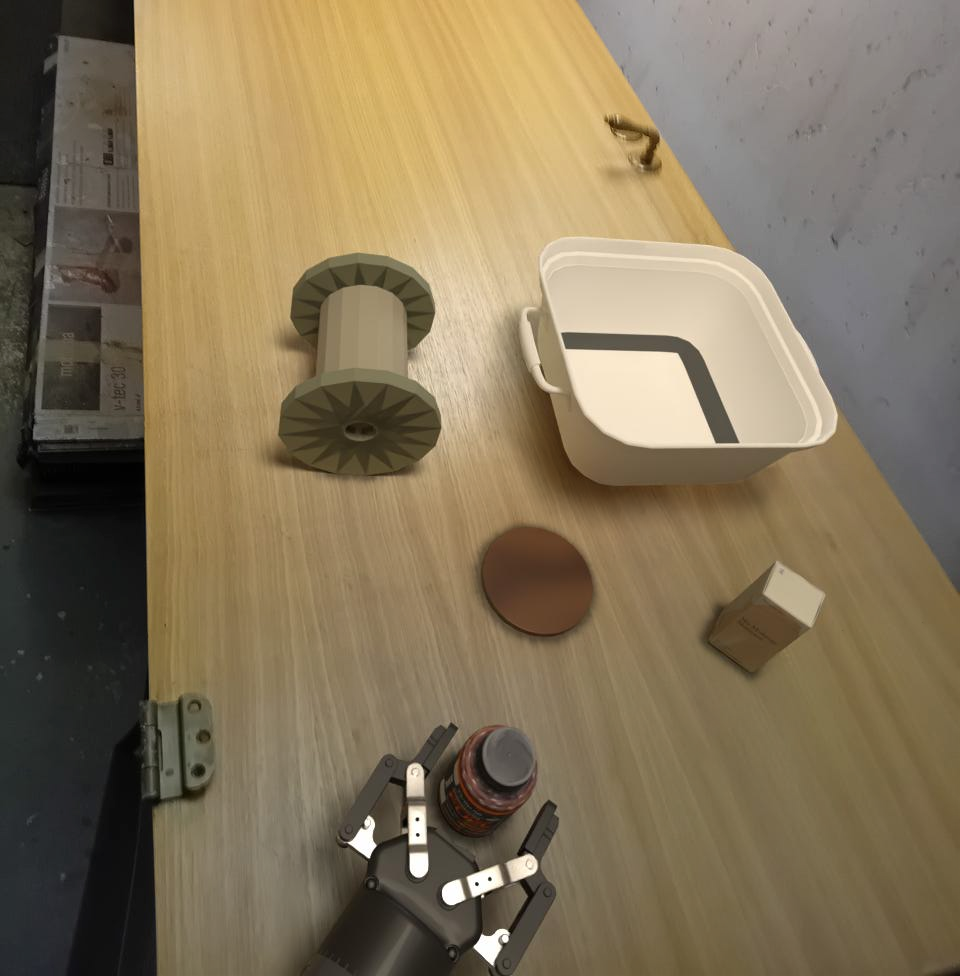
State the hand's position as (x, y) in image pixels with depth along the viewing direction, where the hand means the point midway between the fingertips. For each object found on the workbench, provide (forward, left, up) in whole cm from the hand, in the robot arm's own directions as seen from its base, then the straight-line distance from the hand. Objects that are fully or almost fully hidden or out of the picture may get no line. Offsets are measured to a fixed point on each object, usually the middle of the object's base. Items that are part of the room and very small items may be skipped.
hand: (500, 765), depth 61 cm
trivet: (+11, -17, -10) cm, 23 cm away
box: (-5, -30, -10) cm, 32 cm away
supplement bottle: (0, 0, -10) cm, 10 cm away
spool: (+37, -13, -10) cm, 41 cm away
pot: (+20, -41, -10) cm, 47 cm away
